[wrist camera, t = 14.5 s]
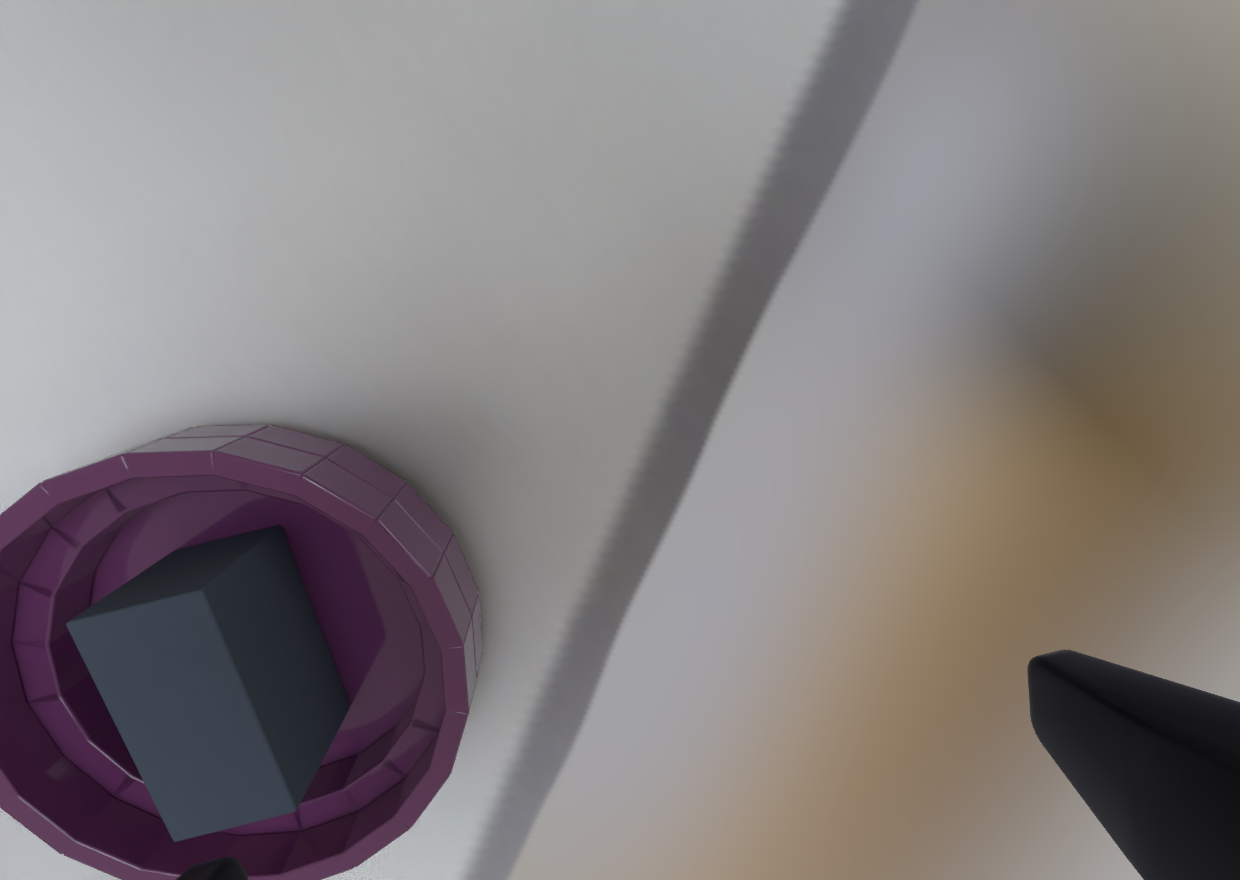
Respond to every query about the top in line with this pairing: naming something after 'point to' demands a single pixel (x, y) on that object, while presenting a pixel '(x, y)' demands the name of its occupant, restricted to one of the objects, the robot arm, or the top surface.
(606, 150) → the top surface
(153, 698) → the eraser
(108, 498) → the bowl
